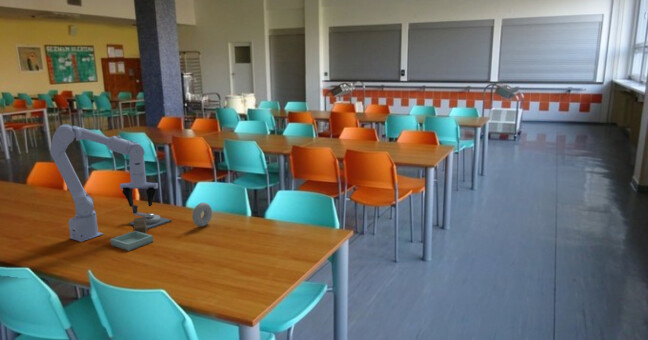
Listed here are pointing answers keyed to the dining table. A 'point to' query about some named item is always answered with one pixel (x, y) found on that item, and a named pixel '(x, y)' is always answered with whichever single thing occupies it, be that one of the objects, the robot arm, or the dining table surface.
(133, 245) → the tray
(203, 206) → the donut
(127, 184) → the robot arm
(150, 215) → the crank
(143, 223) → the block
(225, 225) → the dining table surface
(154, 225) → the crank base
